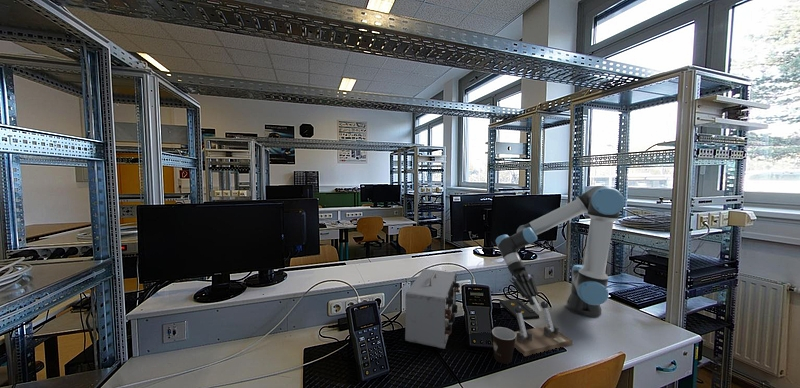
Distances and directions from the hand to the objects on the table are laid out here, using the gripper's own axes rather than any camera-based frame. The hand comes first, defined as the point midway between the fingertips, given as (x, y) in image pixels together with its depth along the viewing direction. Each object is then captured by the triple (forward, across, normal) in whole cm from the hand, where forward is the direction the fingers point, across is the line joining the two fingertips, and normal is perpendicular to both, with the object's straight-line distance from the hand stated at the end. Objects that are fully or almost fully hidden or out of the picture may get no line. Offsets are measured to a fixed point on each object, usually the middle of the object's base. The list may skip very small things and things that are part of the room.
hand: (538, 311), depth 127 cm
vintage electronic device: (-4, +44, -17) cm, 47 cm away
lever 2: (+8, 0, +2) cm, 8 cm away
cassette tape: (-6, -4, -19) cm, 21 cm away
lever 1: (+8, +14, +2) cm, 16 cm away
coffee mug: (+13, +27, +1) cm, 30 cm away
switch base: (+11, +7, -1) cm, 13 cm away
